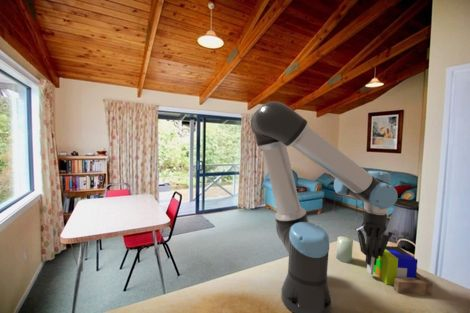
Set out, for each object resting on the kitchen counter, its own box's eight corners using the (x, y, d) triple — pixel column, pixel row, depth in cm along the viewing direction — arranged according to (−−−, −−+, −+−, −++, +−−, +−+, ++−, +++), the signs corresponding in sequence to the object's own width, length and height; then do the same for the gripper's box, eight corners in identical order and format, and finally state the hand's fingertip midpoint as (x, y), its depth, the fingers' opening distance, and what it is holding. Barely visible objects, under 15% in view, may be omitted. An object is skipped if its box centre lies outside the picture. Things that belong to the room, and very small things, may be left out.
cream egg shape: (339, 262, 93) (341, 241, 93) (334, 255, 99) (335, 236, 99) (354, 263, 93) (355, 242, 92) (347, 256, 99) (349, 236, 98)
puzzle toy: (415, 286, 79) (417, 259, 78) (386, 284, 79) (388, 258, 79) (396, 270, 89) (398, 246, 88) (371, 269, 89) (372, 245, 89)
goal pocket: (397, 293, 75) (398, 281, 74) (368, 264, 93) (369, 255, 92) (431, 295, 74) (432, 284, 74) (395, 265, 92) (396, 256, 92)
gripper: (363, 213, 79) (358, 277, 80) (399, 216, 78) (393, 279, 80) (353, 208, 87) (348, 265, 88) (386, 210, 86) (380, 268, 87)
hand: (369, 272), depth 84 cm, fingers closed
